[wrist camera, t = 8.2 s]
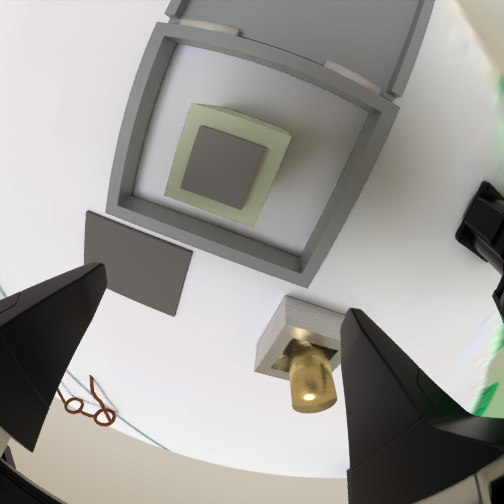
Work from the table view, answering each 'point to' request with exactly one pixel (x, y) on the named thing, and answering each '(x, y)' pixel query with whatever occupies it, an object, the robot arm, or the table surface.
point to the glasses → (83, 405)
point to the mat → (137, 262)
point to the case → (291, 62)
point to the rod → (310, 377)
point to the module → (226, 162)
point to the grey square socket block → (297, 335)
